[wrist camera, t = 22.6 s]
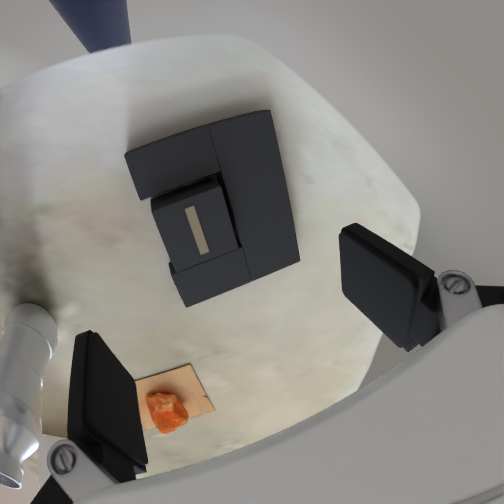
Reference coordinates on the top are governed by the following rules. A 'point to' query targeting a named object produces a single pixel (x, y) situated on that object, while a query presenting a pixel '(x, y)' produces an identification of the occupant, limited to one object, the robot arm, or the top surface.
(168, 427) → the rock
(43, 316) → the plastic bottle
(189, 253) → the dark grey square block
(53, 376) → the top surface
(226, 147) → the dark grey u-shaped block
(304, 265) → the top surface
